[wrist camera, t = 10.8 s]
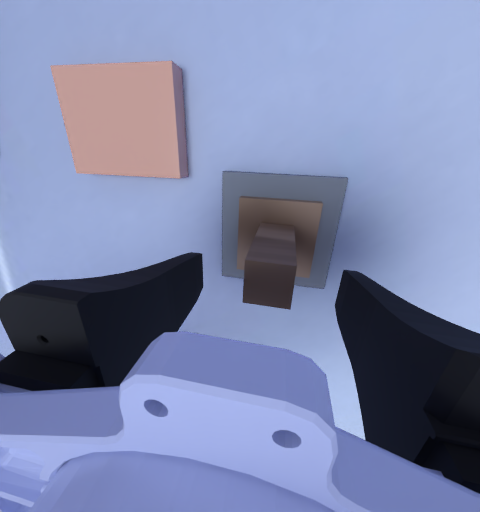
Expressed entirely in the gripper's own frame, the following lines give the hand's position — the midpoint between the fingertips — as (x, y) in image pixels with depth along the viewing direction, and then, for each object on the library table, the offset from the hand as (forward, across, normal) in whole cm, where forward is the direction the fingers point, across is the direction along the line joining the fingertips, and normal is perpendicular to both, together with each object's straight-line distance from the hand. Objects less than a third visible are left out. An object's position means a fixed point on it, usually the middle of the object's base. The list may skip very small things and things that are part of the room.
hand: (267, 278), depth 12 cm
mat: (+8, 0, 0) cm, 8 cm away
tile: (+7, +12, -4) cm, 15 cm away
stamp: (+7, 0, 0) cm, 7 cm away
